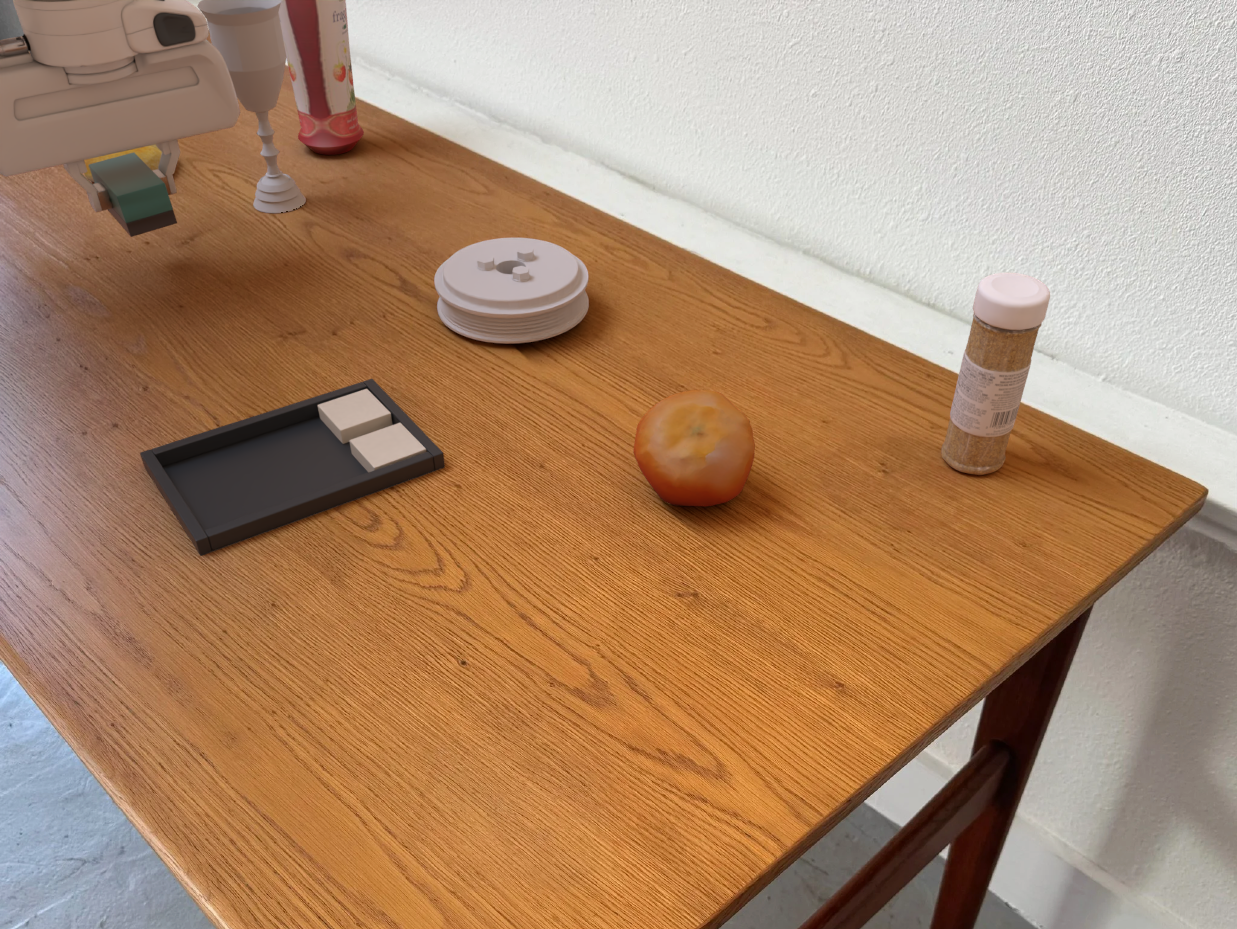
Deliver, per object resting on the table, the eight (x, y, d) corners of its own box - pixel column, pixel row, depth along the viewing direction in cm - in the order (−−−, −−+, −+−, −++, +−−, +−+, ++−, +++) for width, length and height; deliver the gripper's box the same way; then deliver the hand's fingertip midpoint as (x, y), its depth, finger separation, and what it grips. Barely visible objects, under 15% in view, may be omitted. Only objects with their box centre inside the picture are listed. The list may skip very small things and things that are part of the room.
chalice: (299, 181, 119) (263, -14, 107) (329, 204, 115) (295, 4, 103) (230, 199, 116) (185, 0, 104) (258, 223, 112) (215, 19, 100)
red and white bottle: (360, 161, 123) (314, -156, 104) (291, 160, 123) (231, -157, 104) (373, 134, 128) (331, -172, 109) (306, 133, 128) (252, -173, 109)
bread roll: (80, 193, 117) (67, 152, 114) (101, 157, 123) (89, 118, 121) (165, 190, 117) (154, 150, 115) (182, 154, 124) (172, 115, 121)
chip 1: (342, 444, 85) (340, 430, 84) (319, 418, 87) (317, 404, 86) (393, 426, 86) (391, 412, 85) (369, 401, 89) (366, 388, 88)
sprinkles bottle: (986, 437, 86) (1031, 266, 77) (1015, 473, 83) (1065, 299, 74) (928, 445, 86) (966, 273, 77) (955, 481, 82) (998, 306, 73)
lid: (531, 370, 93) (527, 312, 90) (407, 326, 98) (399, 270, 95) (617, 304, 101) (617, 249, 97) (499, 266, 106) (495, 212, 102)
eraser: (177, 223, 99) (164, 182, 97) (130, 237, 98) (116, 196, 95) (147, 191, 104) (134, 151, 102) (102, 204, 103) (87, 164, 100)
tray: (202, 561, 76) (195, 540, 75) (145, 472, 83) (139, 452, 82) (445, 472, 83) (443, 452, 82) (375, 397, 90) (372, 378, 89)
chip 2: (376, 481, 81) (374, 467, 80) (351, 454, 84) (348, 439, 83) (428, 462, 83) (426, 448, 82) (402, 436, 85) (400, 422, 85)
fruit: (747, 426, 85) (759, 373, 77) (747, 529, 83) (758, 486, 75) (635, 423, 85) (635, 370, 77) (632, 526, 83) (631, 483, 75)
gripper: (-52, 62, 84) (16, 245, 94) (225, 13, 93) (262, 185, 102) (-69, 39, 88) (-2, 216, 98) (198, -7, 97) (236, 161, 106)
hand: (135, 200), depth 100 cm, fingers closed on eraser, 4 cm apart
